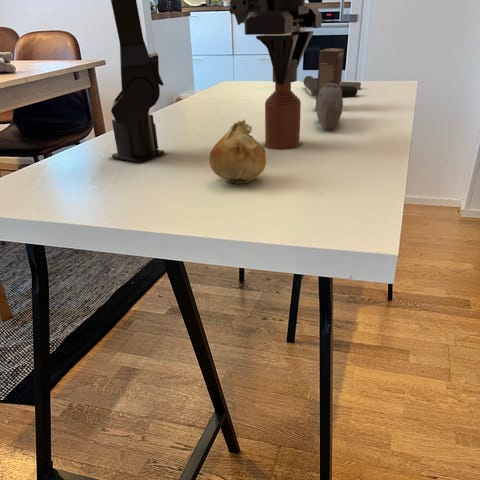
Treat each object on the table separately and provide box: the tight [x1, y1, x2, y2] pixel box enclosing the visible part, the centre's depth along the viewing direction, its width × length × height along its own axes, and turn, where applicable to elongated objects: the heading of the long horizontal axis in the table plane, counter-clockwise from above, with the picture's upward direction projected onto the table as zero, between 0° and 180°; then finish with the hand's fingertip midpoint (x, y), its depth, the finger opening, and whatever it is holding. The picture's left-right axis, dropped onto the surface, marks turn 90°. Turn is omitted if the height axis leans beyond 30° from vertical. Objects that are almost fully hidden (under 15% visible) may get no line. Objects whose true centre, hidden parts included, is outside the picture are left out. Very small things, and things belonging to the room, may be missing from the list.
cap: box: [272, 59, 298, 83], centre depth 78 cm, size 4×4×3 cm
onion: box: [208, 118, 267, 185], centre depth 66 cm, size 8×8×8 cm
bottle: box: [264, 82, 302, 150], centre depth 81 cm, size 6×6×12 cm
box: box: [315, 48, 345, 111], centre depth 107 cm, size 6×4×12 cm
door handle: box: [300, 75, 362, 97], centre depth 130 cm, size 3×20×16 cm
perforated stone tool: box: [315, 83, 344, 130], centre depth 94 cm, size 15×5×7 cm, turn 168°
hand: (284, 82), depth 79 cm, fingers closed on cap, 4 cm apart
